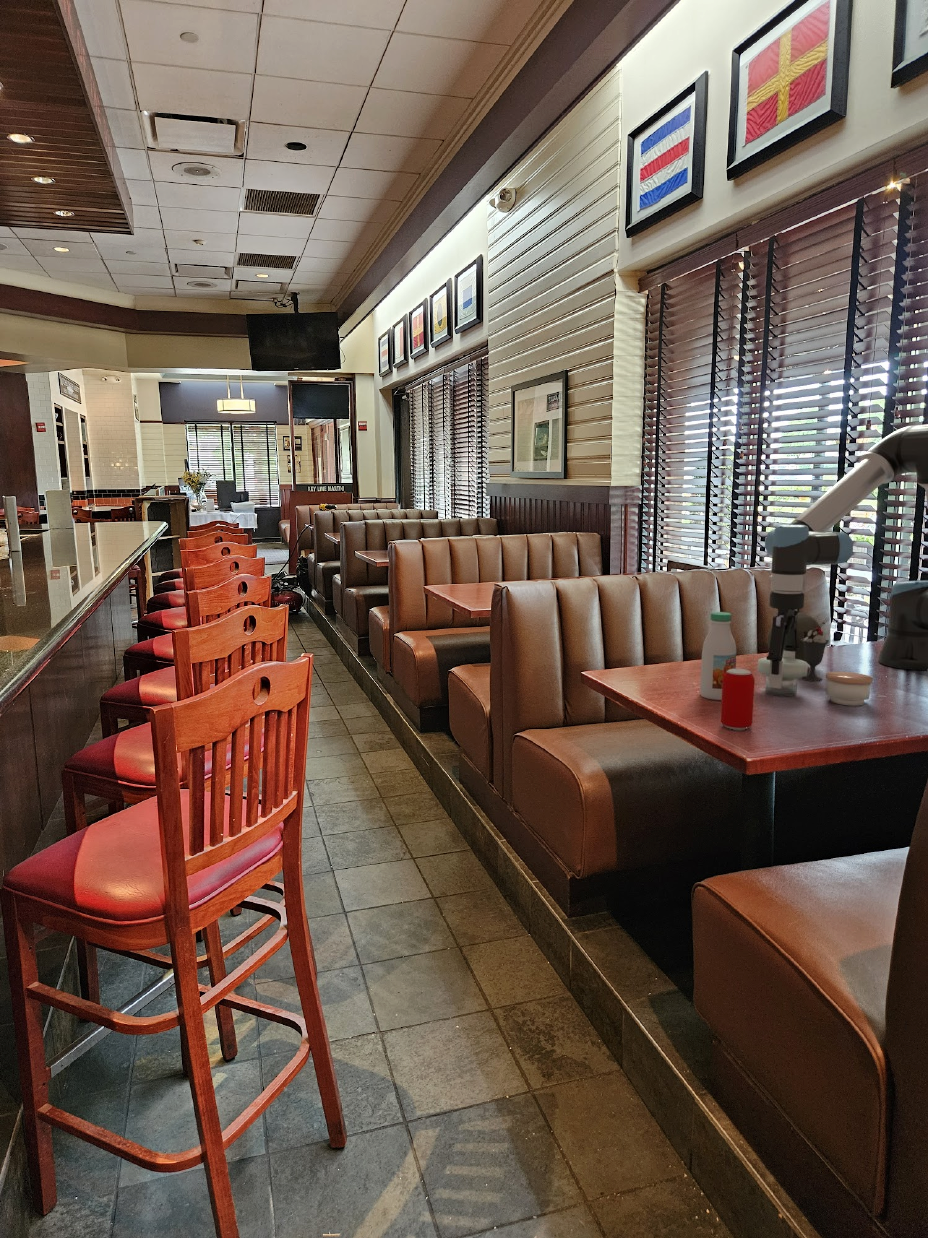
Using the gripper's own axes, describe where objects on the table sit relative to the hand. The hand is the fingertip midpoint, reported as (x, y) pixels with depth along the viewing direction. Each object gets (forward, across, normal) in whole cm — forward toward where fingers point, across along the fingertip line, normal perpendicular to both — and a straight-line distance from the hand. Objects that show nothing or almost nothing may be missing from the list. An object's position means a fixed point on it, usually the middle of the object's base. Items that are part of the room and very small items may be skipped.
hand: (781, 682), depth 192 cm
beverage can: (+3, +33, -1) cm, 33 cm away
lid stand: (+2, 0, 0) cm, 2 cm away
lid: (-2, 0, 0) cm, 2 cm away
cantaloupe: (+3, -28, -4) cm, 28 cm away
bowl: (+2, 0, +14) cm, 15 cm away
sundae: (+3, -18, +3) cm, 18 cm away
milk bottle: (+3, +12, -12) cm, 17 cm away
